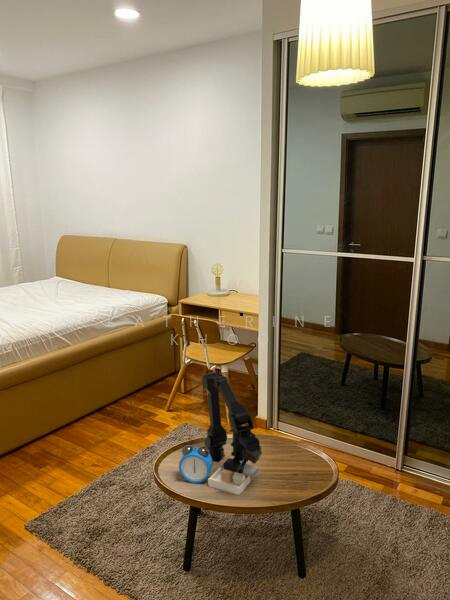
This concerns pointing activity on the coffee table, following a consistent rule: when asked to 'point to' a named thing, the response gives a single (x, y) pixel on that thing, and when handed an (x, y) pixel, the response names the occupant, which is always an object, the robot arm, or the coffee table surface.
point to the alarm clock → (195, 463)
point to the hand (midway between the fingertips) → (240, 475)
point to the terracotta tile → (226, 476)
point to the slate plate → (248, 471)
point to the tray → (227, 484)
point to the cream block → (238, 478)
